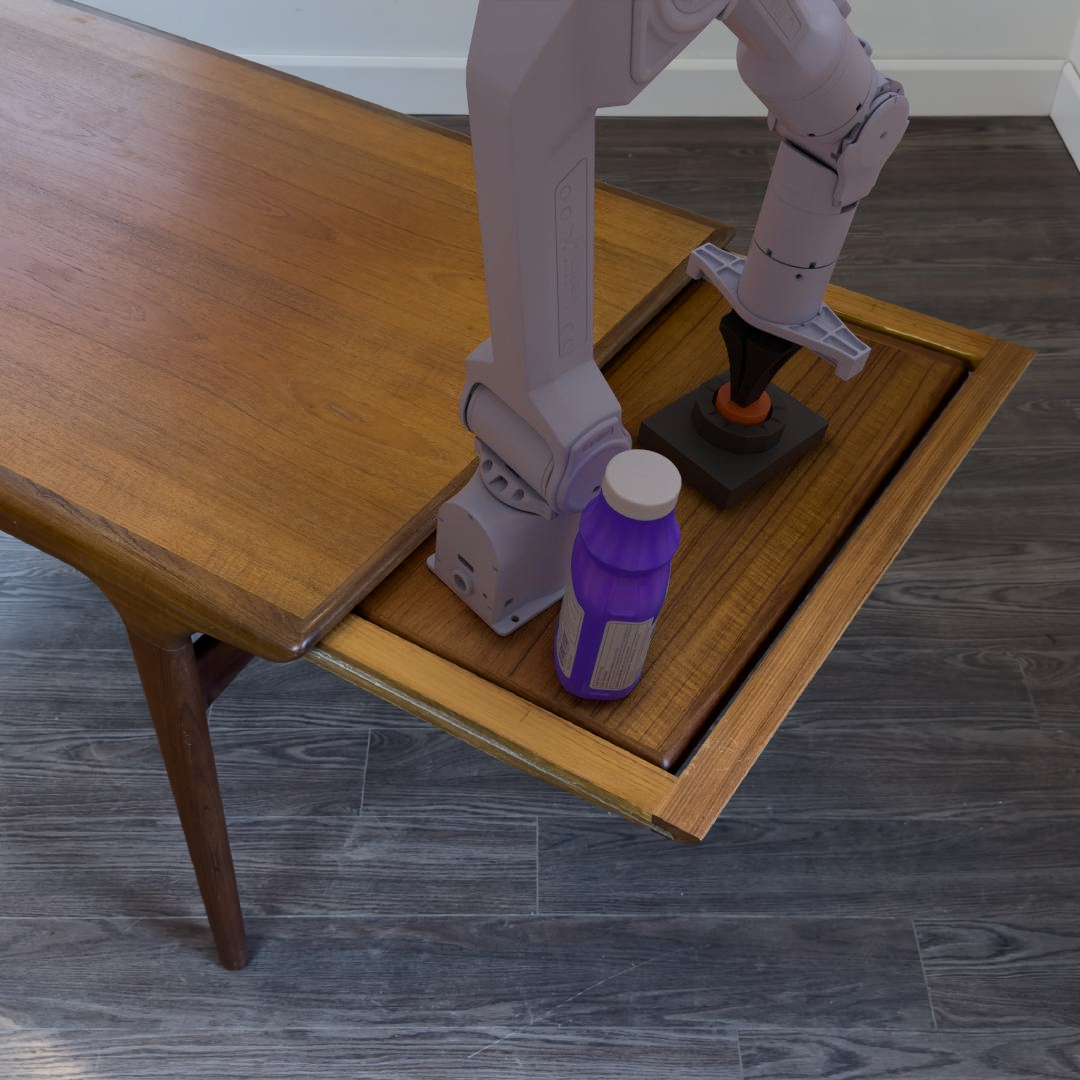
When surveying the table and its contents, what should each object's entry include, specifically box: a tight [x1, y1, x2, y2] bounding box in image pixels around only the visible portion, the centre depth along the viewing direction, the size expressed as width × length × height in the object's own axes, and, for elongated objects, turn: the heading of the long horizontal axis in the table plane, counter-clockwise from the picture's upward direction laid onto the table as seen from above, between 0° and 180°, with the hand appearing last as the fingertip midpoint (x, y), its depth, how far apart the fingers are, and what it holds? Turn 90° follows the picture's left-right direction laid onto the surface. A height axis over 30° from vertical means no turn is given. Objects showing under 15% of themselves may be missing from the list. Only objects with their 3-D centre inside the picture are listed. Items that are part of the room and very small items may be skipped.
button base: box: [636, 367, 830, 511], centre depth 84 cm, size 12×9×4 cm
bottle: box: [553, 449, 682, 701], centre depth 64 cm, size 7×6×17 cm
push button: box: [714, 382, 771, 426], centre depth 83 cm, size 4×4×2 cm
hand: (744, 398), depth 82 cm, fingers closed, pressing on push button
